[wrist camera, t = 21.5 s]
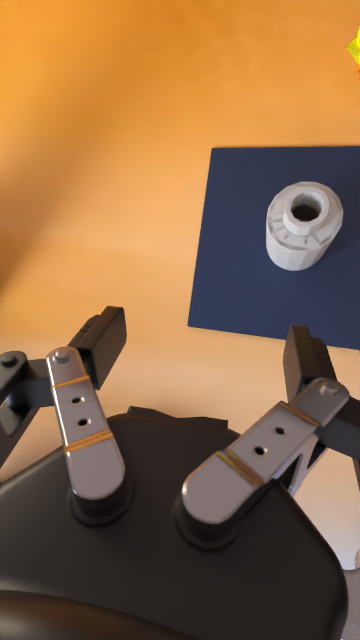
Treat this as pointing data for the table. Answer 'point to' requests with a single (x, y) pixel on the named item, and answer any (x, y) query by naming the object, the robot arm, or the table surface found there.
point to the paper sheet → (252, 256)
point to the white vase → (302, 224)
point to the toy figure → (355, 50)
